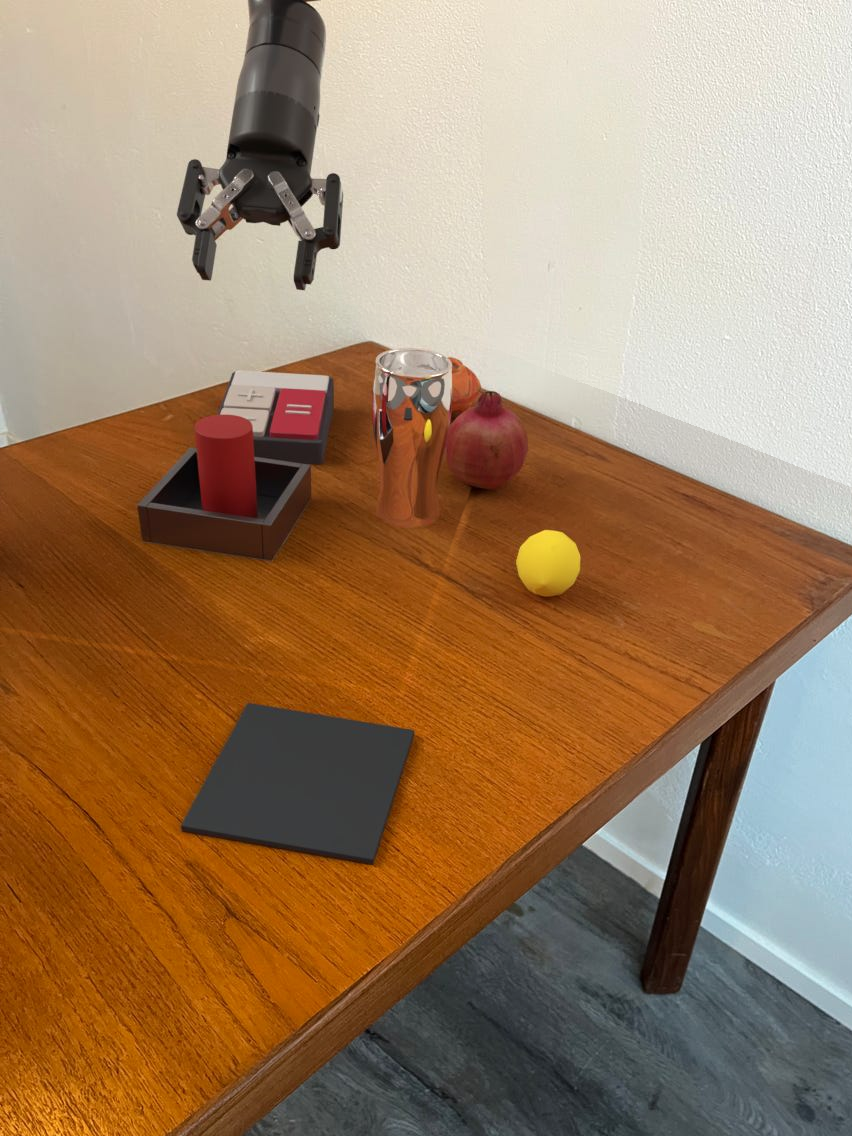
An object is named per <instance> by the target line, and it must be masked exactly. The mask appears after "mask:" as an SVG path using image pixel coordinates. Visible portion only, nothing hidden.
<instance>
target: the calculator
mask: <svg viewBox="0 0 852 1136" xmlns="http://www.w3.org/2000/svg"><path fill="white" fill-rule="evenodd" d="M334 385H335V381H334V378H333V377H331V376H329V375H325V374H324V375H322V374H309V373H308V374H307V373H305V374H304V373H303V374H302V373H291V372H290V373H288V372H274V371H257V370H256V371H255V370H239V369H237V370H236V371H233V372H232V373H231V376H230V378H229V381H228V383H227V387H226V389H225V393H224V395H223V398H222V401H221V404H220V406H219V409H218V412H217V414H216V415H236V416H240V417H243V418H246V419H247V420H249V421H250V422H251V423H252V426H253V442H254V457H260V458H267V459H274V460H281V461H287V462H294V463H301V464H308V465H314V466H321V465H323V464H324V462H325V461H324V460H325V455H326V450H327V444H328V440H329V433H330V429H331V422H332V420H333V415H334V410H335V394H334V393H335V386H334Z"/></svg>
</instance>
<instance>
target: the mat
mask: <svg viewBox="0 0 852 1136" xmlns="http://www.w3.org/2000/svg"><path fill="white" fill-rule="evenodd" d="M414 737H415V730H414V729H411V728H405V727H397V726H392V725H386V724H379V723H374V722H368V721H362V720H356V719H349V718H343V717H337V716H331V715H326V714H325V715H324V714H318V713H313V712H308V711H307V712H305V711H301V710H294V709H288V708H284V707H283V708H282V707H278V706H270V705H265V704H259V703H253V702H252V703H251V702H247V703H246V705H245V707H244V708H243V710H242V712H241V714H240V716H239V717H238V720H237V721H236V723H235V725H234V726H233V728H232V730H231V732H230V734H229V736H228V738H227V740H226V742H225V743H224V745H223V747H222V749H221V750H220V753H219V754H218V756H217V758H216V760H215V762H214V763H213V765H212V767H211V769H210V771H209V772H208V775H207V777H206V778H205V780H204V782H203V783H202V786H201V787H200V789H199V791H198V793H197V795H196V797H195V798H194V800H193V802H192V804H191V806H190V807H189V809H188V811H187V814H186V815H185V816H184V819H183V820H182V822H181V824H180V830H181V832H185V833H190V834H196V835H202V836H208V837H213V838H220V839H225V840H231V841H237V842H241V843H248V844H253V845H258V846H265V847H269V848H275V849H282V850H286V851H287V850H288V851H293V852H299V853H305V854H310V855H316V856H322V857H328V858H331V859H332V858H333V859H338V860H345V861H350V862H355V863H361V864H367V865H374V863H375V860H376V858H377V857H376V856H377V855H378V850H379V847H380V844H381V841H382V838H383V835H384V832H385V828H386V825H387V822H388V819H389V816H390V813H391V810H392V806H393V803H394V799H395V796H396V794H397V790H398V787H399V785H400V782H401V778H402V775H403V772H404V769H405V766H406V764H407V763H406V762H407V760H408V756H409V754H410V750H411V747H412V743H413V740H414Z"/></svg>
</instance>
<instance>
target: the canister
mask: <svg viewBox="0 0 852 1136" xmlns="http://www.w3.org/2000/svg"><path fill="white" fill-rule="evenodd" d="M194 438H195V448H196V449H197V459H198V470H199V480H200V491H201V501H202V510H204V511H210V512H217V513H224V514H230V515H237V516H244V517H250V518H257V519H258V510H257V493H256V476H255V459H254V442H253V426H252V423H251V422H250V421H249V420H247V419H246V418H243V417H240V416H236V415H217V414H213V415H208V416H205V417H203V418H200V419H199V420H198V421H196V423H195V424H194Z"/></svg>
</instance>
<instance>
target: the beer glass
mask: <svg viewBox="0 0 852 1136" xmlns="http://www.w3.org/2000/svg"><path fill="white" fill-rule="evenodd" d="M374 367H375V368H374V375H373V376H374V377H373V386H372V402H371V411H372V413H371V414H372V415H371V419H372V428H373V436H374V443H375V449H376V454H377V455H376V457H377V461H378V469H379V489H378V494H377V499H376V504H375V507H374V512H375V515H376V517H377V518H378V519H379V520H380V521H381V522H383V523H385V524H387V525H390V526H392V527H397V528H402V529H403V528H404V529H417V528H423V527H427V526H429V525H432V524H433V523H435V522H437V521H438V519H439V518H440V515H441V510H440V503H439V497H438V487H439V486H438V481H439V475H440V470H441V467H442V462H443V458H444V454H445V452H446V443H447V439H448V433H449V428H450V425H451V423H452V422H451V420H452V412H453V411H452V362H451V361H450V360H449V359H448V357H447V356H446V355H444V354H442V353H439V352H437V351H433V350H429V349H426V348H425V349H424V348H416V347H402V348H401V347H400V348H392V349H388V350H385V351H383V352H380V353H379V354H378V355H377V356H376V357H375V366H374Z"/></svg>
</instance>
